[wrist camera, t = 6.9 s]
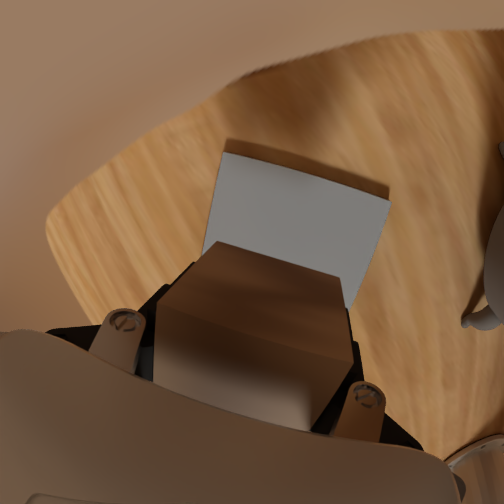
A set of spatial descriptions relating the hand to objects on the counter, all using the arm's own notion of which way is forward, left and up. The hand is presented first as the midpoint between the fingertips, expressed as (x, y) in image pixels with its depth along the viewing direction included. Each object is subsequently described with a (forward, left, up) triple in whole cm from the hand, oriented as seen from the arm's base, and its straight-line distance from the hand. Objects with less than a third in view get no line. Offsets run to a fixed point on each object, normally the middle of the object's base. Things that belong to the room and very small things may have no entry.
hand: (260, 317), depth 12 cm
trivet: (0, 0, -9) cm, 9 cm away
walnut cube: (0, 0, -1) cm, 1 cm away
